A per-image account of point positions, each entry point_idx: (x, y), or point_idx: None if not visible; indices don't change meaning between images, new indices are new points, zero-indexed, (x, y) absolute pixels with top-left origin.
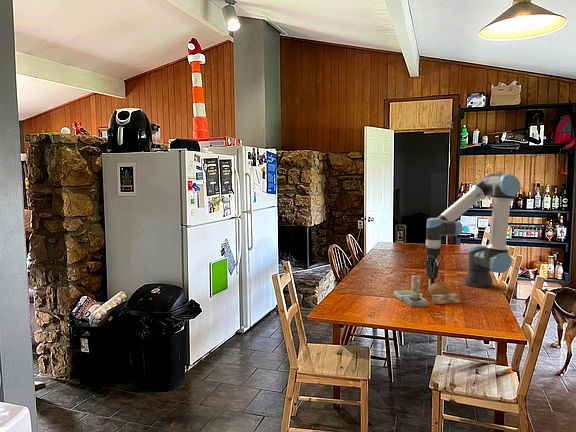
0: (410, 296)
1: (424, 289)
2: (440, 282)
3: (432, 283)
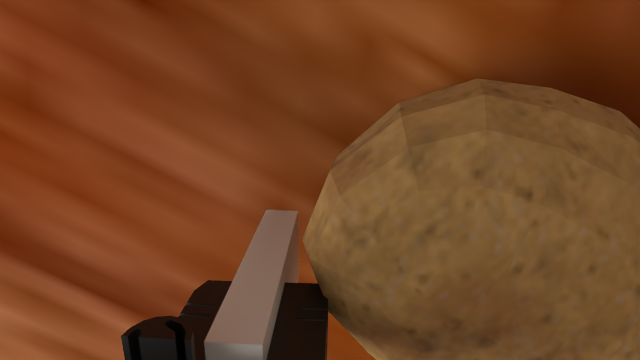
0: None
1: (39, 174)
2: (501, 272)
3: (327, 333)
